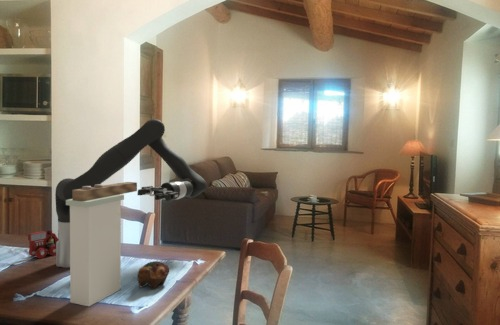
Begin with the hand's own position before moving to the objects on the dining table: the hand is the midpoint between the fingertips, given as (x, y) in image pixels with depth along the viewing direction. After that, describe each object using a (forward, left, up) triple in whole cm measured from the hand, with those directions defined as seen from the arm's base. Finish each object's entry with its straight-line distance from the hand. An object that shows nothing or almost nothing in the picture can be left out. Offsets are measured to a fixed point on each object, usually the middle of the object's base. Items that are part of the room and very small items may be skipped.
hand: (146, 194), depth 144 cm
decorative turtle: (+4, -17, -29) cm, 33 cm away
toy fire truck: (-43, +21, -29) cm, 56 cm away
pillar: (-13, -24, -28) cm, 39 cm away
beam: (-11, -20, +3) cm, 23 cm away
